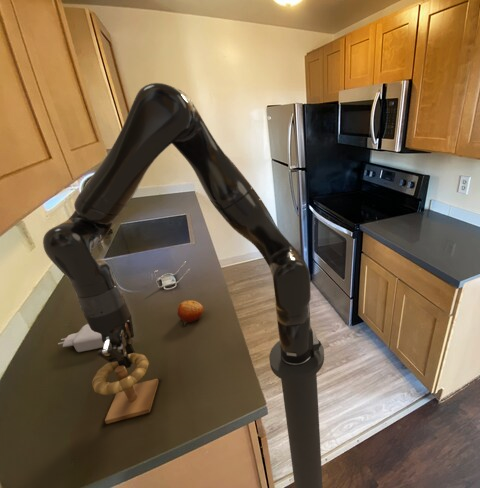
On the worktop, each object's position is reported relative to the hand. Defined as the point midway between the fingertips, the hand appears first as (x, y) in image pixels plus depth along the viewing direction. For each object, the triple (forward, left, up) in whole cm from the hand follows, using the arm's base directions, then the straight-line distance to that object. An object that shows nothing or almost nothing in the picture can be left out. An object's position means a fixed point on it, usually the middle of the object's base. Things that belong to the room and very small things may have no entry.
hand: (128, 361), depth 69 cm
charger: (+20, -24, -9) cm, 32 cm away
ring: (0, +4, +1) cm, 4 cm away
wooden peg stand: (0, +4, -9) cm, 10 cm away
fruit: (-10, -26, -9) cm, 29 cm away
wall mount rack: (+1, -57, -9) cm, 58 cm away
